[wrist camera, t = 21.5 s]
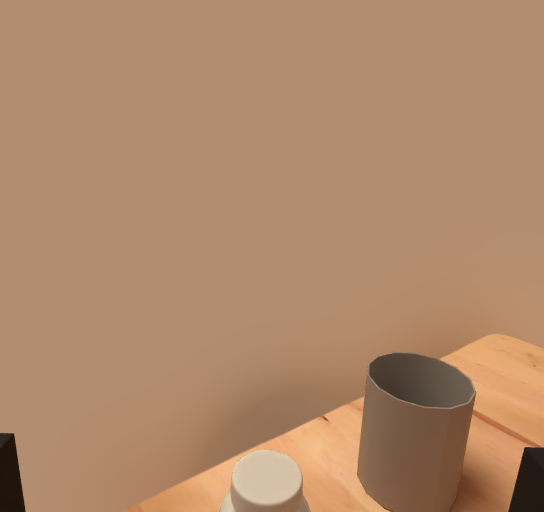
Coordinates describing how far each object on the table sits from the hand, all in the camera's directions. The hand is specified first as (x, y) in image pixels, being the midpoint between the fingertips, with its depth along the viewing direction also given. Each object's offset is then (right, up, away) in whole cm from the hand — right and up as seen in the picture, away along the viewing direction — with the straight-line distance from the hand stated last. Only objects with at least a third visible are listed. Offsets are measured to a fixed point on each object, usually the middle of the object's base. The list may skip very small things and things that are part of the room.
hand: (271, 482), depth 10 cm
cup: (+12, -14, +25) cm, 31 cm away
